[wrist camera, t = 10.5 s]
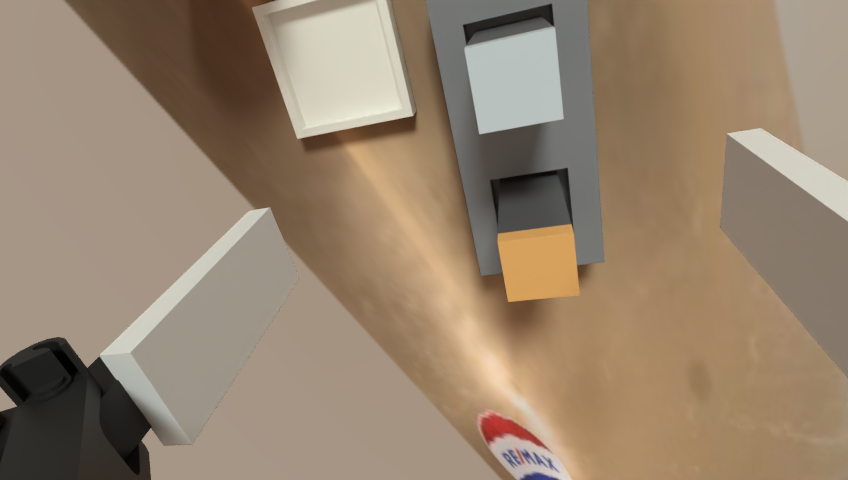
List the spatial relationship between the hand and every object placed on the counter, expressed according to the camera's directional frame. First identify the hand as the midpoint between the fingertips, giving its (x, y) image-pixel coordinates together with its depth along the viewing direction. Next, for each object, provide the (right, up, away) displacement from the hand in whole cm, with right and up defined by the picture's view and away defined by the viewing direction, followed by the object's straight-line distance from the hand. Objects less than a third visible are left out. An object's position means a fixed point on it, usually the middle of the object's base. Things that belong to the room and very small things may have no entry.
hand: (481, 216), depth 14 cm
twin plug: (+4, +11, +17) cm, 20 cm away
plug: (+6, +2, +21) cm, 22 cm away
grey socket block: (+5, +8, +20) cm, 22 cm away
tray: (-8, +12, +20) cm, 25 cm away
